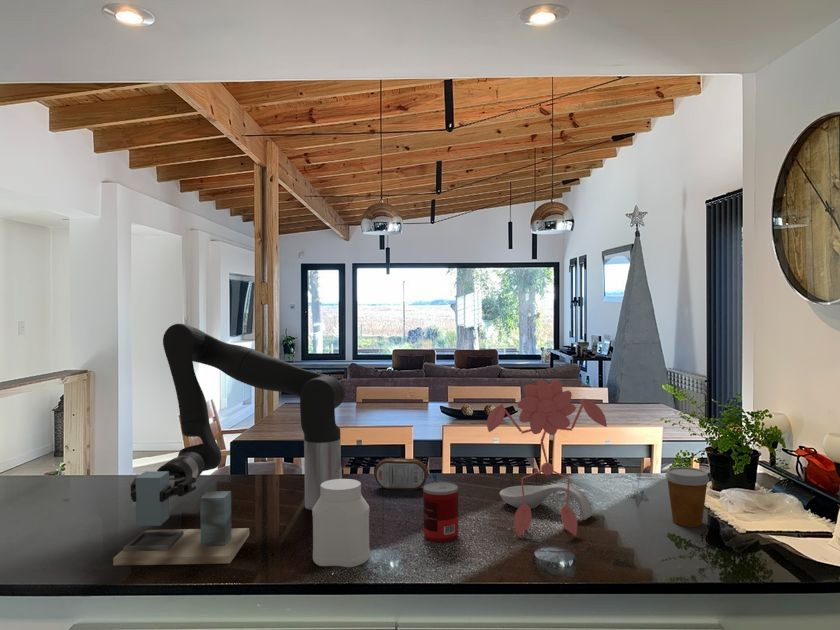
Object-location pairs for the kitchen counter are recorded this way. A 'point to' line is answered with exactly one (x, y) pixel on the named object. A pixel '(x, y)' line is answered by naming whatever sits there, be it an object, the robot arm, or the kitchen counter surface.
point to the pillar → (151, 498)
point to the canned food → (440, 511)
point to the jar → (341, 525)
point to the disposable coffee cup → (687, 494)
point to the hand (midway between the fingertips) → (147, 497)
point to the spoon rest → (544, 496)
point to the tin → (401, 473)
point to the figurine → (548, 413)
